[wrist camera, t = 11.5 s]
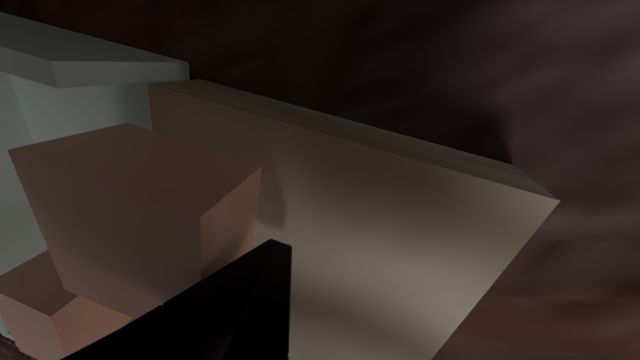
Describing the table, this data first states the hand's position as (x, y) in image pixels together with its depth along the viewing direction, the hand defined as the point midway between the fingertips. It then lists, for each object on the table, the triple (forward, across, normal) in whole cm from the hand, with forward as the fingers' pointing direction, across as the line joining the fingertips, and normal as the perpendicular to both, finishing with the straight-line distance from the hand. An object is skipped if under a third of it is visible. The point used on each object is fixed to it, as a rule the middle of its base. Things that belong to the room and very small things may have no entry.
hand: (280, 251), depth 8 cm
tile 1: (+1, +4, 0) cm, 4 cm away
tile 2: (0, +8, +7) cm, 11 cm away
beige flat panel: (+3, -1, +4) cm, 5 cm away
